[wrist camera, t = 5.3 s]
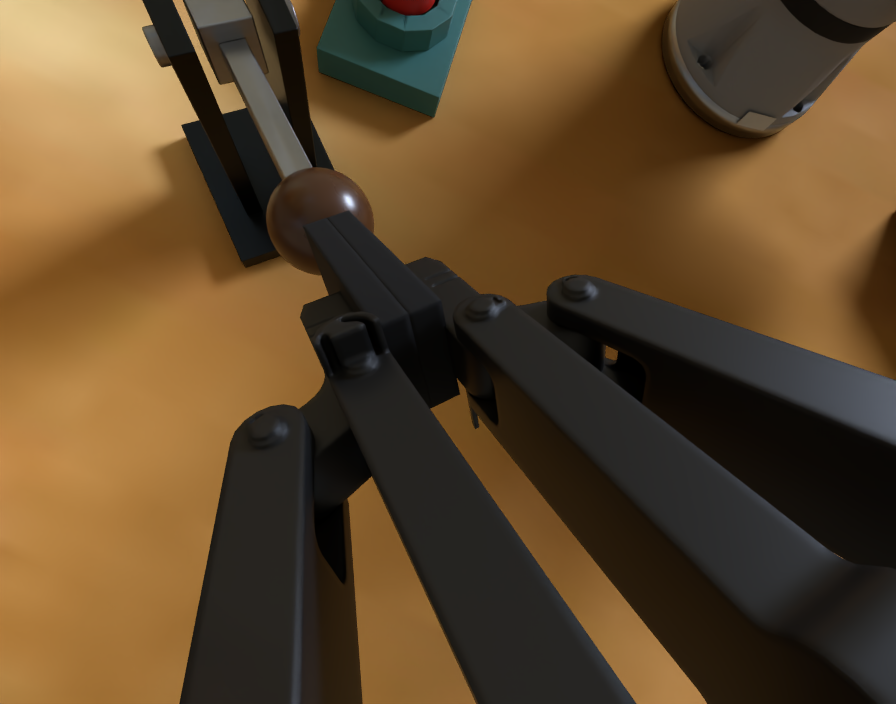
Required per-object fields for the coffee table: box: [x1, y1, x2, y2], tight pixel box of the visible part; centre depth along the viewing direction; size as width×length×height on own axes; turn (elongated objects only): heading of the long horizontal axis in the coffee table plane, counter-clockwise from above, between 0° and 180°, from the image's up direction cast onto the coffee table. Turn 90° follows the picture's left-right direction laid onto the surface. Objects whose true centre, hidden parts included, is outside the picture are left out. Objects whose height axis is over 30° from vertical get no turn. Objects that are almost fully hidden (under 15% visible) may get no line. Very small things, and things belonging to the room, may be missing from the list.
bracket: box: [142, 0, 334, 267], centre depth 24 cm, size 10×8×14 cm
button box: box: [317, 0, 472, 117], centre depth 33 cm, size 12×9×4 cm
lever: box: [183, 0, 374, 275], centre depth 17 cm, size 14×4×4 cm, turn 25°
